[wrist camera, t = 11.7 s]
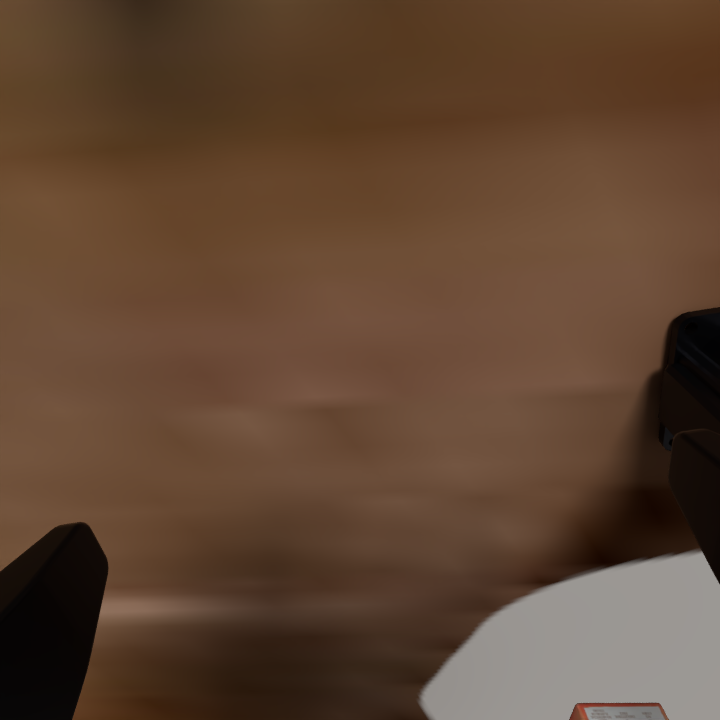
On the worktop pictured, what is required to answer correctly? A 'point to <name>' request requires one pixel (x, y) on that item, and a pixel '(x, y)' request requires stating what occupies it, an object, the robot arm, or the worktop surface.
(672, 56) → the worktop surface
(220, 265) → the worktop surface
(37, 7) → the worktop surface
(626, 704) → the cracker box
